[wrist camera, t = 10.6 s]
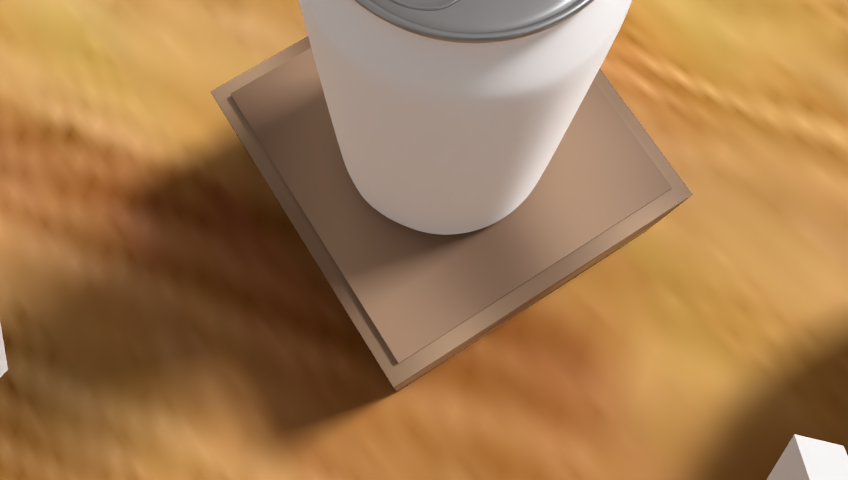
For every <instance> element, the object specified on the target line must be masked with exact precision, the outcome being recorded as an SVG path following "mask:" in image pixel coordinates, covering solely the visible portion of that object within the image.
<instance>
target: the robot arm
mask: <svg viewBox="0 0 848 480" xmlns="http://www.w3.org/2000/svg"><path fill="white" fill-rule="evenodd" d="M7 370H8V366H7V360H6V354H5V348H4V342H3V336H2V330H1V324H0V377H1V376H2V375H3V374H4V373H5V372H6V371H7ZM766 480H848V455H847V453H846V450H845V448H844V446H842V445H838V444H834V443H830V442H825V441H821V440H817V439H813V438H809V437H804V436H800V435H796V434H794V435H793V437H792V439H791V440H790V442H789V443H788V445H787V447H786V448H785V450H784V452H783V453H782V455H781V457H780V458H779V460H778V461H777V463H776V465H775V466H774V468H773V470H772V471H771V473H770V475H769V476H768V478H767V479H766Z"/></svg>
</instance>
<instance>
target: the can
mask: <svg viewBox="0 0 848 480" xmlns="http://www.w3.org/2000/svg"><path fill="white" fill-rule="evenodd" d="M631 1H632V0H299V4H300V8H301V12H302V15H303V19H304V23H305V27H306V31H307V34H308V38H309V41H310V45H311V49H312V52H313V56H314V60H315V63H316V67H317V70H318V74H319V78H320V81H321V85H322V88H323V92H324V95H325V99H326V102H327V106H328V109H329V113H330V116H331V120H332V123H333V127H334V130H335V134H336V137H337V141H338V144H339V147H340V150H341V154H342V157H343V160H344V163H345V165H346V168H347V171H348V173H349V175H350V177H351V179H352V181H353V183H354V184H355V186H356V188H357V189H358V191H359V193H360V194H361V195H362V197H363V198H364V199H365V200H366V201H367V202H368V203H369V204H370V205H371V206H372V207H373V208H374V209H376V210H377V211H378V212H380V213H381V214H383V215H384V216H386V217H387V218H389V219H391V220H393V221H395V222H397V223H399V224H401V225H404V226H406V227H409V228H412V229H415V230H418V231H421V232H426V233H431V234H442V235H450V234H461V233H467V232H472V231H475V230H479V229H482V228H484V227H487V226H489V225H491V224H494V223H496V222H497V221H499V220H501V219H503V218H504V217H506V216H507V215H508V214H510V213H511V212H512V211H514V210H515V209H516V208H517V207H518V206H519V205H520V204H521V203H522V202H523V201H524V200H525V199H526V198H527V197H528V195H529V194H530V193H531V191H532V190H533V189H534V187H535V186H536V184H537V182H538V181H539V179H540V177H541V176H542V174H543V172H544V170H545V169H546V167H547V165H548V163H549V162H550V160H551V158H552V156H553V154H554V152H555V151H556V149H557V147H558V145H559V143H560V141H561V140H562V138H563V136H564V134H565V132H566V130H567V128H568V127H569V125H570V123H571V121H572V119H573V117H574V115H575V114H576V112H577V110H578V108H579V106H580V104H581V102H582V100H583V99H584V97H585V95H586V93H587V91H588V89H589V87H590V85H591V84H592V82H593V80H594V78H595V76H596V74H597V72H598V70H599V68H600V67H601V65H602V63H603V61H604V59H605V57H606V55H607V53H608V51H609V49H610V47H611V45H612V43H613V41H614V39H615V37H616V35H617V33H618V31H619V29H620V27H621V25H622V23H623V21H624V19H625V16H626V14H627V12H628V10H629V7H630V4H631Z"/></svg>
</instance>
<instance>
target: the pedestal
mask: <svg viewBox="0 0 848 480" xmlns="http://www.w3.org/2000/svg"><path fill="white" fill-rule="evenodd" d="M211 94H212V95H213V97H214V99H215V100H216V102H217V103H218V105H219V107H220V108H221V110H222V111H223V113H224V115H225V116H226V118H227V120H228V121H229V123H230V124H231V126H232V128H233V129H234V131H235V132H236V134H237V136H238V137H239V139H240V141H241V142H242V144H243V145H244V147H245V149H246V150H247V152H248V153H249V155H250V157H251V158H252V160H253V161H254V163H255V165H256V166H257V168H258V170H259V171H260V173H261V174H262V176H263V178H264V179H265V181H266V182H267V184H268V186H269V187H270V189H271V191H272V192H273V194H274V195H275V197H276V199H277V200H278V202H279V203H280V205H281V207H282V208H283V210H284V212H285V213H286V215H287V216H288V218H289V220H290V221H291V223H292V224H293V226H294V228H295V229H296V231H297V233H298V234H299V236H300V237H301V239H302V241H303V242H304V244H305V245H306V247H307V249H308V250H309V252H310V254H311V255H312V257H313V258H314V260H315V262H316V263H317V265H318V266H319V268H320V270H321V271H322V273H323V275H324V276H325V278H326V279H327V281H328V283H329V284H330V286H331V287H332V289H333V291H334V292H335V294H336V296H337V297H338V299H339V300H340V302H341V304H342V305H343V307H344V308H345V310H346V312H347V313H348V315H349V317H350V318H351V320H352V321H353V323H354V325H355V326H356V328H357V329H358V331H359V333H360V334H361V336H362V338H363V339H364V341H365V342H366V344H367V346H368V347H369V349H370V350H371V352H372V354H373V355H374V357H375V359H376V360H377V362H378V363H379V365H380V367H381V368H382V370H383V371H384V373H385V375H386V376H387V378H388V380H389V381H390V383H391V384H392V386H393V388H394V389H395V390H396V391H397V392H398V391H400V390H401V389H403V388H404V387H406V386H408V385H409V384H411V383H412V382H414V381H415V380H417V379H418V378H420V377H421V376H423V375H425V374H426V373H428V372H429V371H431V370H432V369H434V368H435V367H437V366H438V365H440V364H442V363H443V362H445V361H446V360H448V359H449V358H451V357H452V356H454V355H455V354H457V353H459V352H460V351H462V350H463V349H465V348H466V347H468V346H469V345H471V344H472V343H474V342H476V341H477V340H479V339H480V338H482V337H483V336H485V335H486V334H488V333H489V332H491V331H493V330H494V329H496V328H497V327H499V326H500V325H502V324H503V323H505V322H506V321H508V320H510V319H511V318H513V317H514V316H516V315H517V314H519V313H520V312H522V311H523V310H525V309H527V308H528V307H530V306H531V305H533V304H534V303H536V302H537V301H539V300H540V299H542V298H544V297H545V296H547V295H548V294H550V293H551V292H553V291H554V290H556V289H557V288H559V287H561V286H562V285H564V284H565V283H567V282H568V281H570V280H571V279H573V278H574V277H576V276H578V275H579V274H581V273H582V272H584V271H585V270H587V269H588V268H590V267H591V266H593V265H595V264H596V263H598V262H599V261H601V260H602V259H604V258H605V257H607V256H608V255H610V254H612V253H613V252H615V251H616V250H618V249H619V248H621V247H622V246H624V245H625V244H627V243H629V242H630V241H632V240H633V239H635V238H636V237H638V236H639V235H641V234H642V233H644V232H646V231H647V230H648V229H649V228H651V227H652V226H653V225H655V224H656V223H657V222H658V221H660V220H661V219H662V218H663V217H665V216H666V215H667V214H668V213H670V212H671V211H672V210H674V209H675V208H676V207H677V206H679V205H680V204H681V203H682V202H684V201H685V200H686V199H688V198H689V197H690V196H691V195H693V194H692V193H691V191H690V190H689V189H688V187H687V186H686V185H685V183H684V182H683V181H682V179H681V178H680V177H679V175H678V174H677V172H676V171H675V170H674V168H673V167H672V166H671V164H670V163H669V162H668V160H667V159H666V158H665V156H664V155H663V153H662V152H661V151H660V149H659V148H658V147H657V145H656V144H655V143H654V141H653V140H652V139H651V137H650V136H649V134H648V133H647V132H646V130H645V129H644V128H643V126H642V125H641V124H640V122H639V121H638V120H637V118H636V117H635V116H634V114H633V113H632V111H631V110H630V109H629V107H628V106H627V105H626V103H625V102H624V101H623V99H622V98H621V97H620V95H619V94H618V92H617V91H616V90H615V88H614V87H613V86H612V84H611V83H610V82H609V80H608V79H607V78H606V76H605V75H604V73H603V72H602V71H601V69H600V68H599V70H598V72H597V74H596V76H595V78H594V80H593V82H592V84H591V85H590V87H589V89H588V91H587V93H586V95H585V97H584V99H583V100H582V102H581V104H580V106H579V108H578V110H577V112H576V114H575V115H574V117H573V119H572V121H571V123H570V125H569V127H568V128H567V130H566V132H565V134H564V136H563V138H562V140H561V141H560V143H559V145H558V147H557V149H556V151H555V152H554V154H553V156H552V158H551V160H550V162H549V163H548V165H547V167H546V169H545V170H544V172H543V174H542V176H541V177H540V179H539V181H538V182H537V184H536V186H535V187H534V189H533V190H532V191H531V193H530V194H529V195H528V197H527V198H526V199H525V200H524V201H523V202H522V203H521V204H520V205H519V206H518V207H517V208H516V209H515V210H514V211H512V212H511V213H510V214H508V215H507V216H506V217H504V218H503V219H501V220H499V221H497V222H496V223H494V224H491V225H489V226H487V227H484V228H482V229H479V230H475V231H472V232H467V233H461V234H450V235H442V234H431V233H426V232H421V231H418V230H415V229H412V228H409V227H406V226H404V225H401V224H399V223H397V222H395V221H393V220H391V219H389V218H387V217H386V216H384V215H383V214H381V213H380V212H378V211H377V210H376V209H374V208H373V207H372V206H371V205H370V204H369V203H368V202H367V201H366V200H365V199H364V198H363V197H362V195H361V194H360V193H359V191H358V189H357V188H356V186H355V184H354V183H353V181H352V179H351V177H350V175H349V173H348V171H347V168H346V165H345V163H344V160H343V157H342V154H341V150H340V147H339V144H338V141H337V137H336V134H335V130H334V127H333V123H332V120H331V116H330V113H329V109H328V106H327V102H326V99H325V95H324V92H323V88H322V85H321V81H320V78H319V74H318V70H317V67H316V63H315V60H314V56H313V52H312V49H311V45H310V41H309V38H308V36H307V37H306V38H304V39H302V40H300V41H299V42H297V43H295V44H293V45H292V46H290V47H288V48H286V49H285V50H283V51H281V52H279V53H277V54H276V55H274V56H272V57H270V58H269V59H267V60H265V61H263V62H262V63H260V64H258V65H256V66H255V67H253V68H251V69H249V70H248V71H246V72H244V73H242V74H241V75H239V76H237V77H235V78H233V79H232V80H230V81H228V82H226V83H225V84H223V85H221V86H219V87H218V88H216V89H214V90H212V91H211Z"/></svg>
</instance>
